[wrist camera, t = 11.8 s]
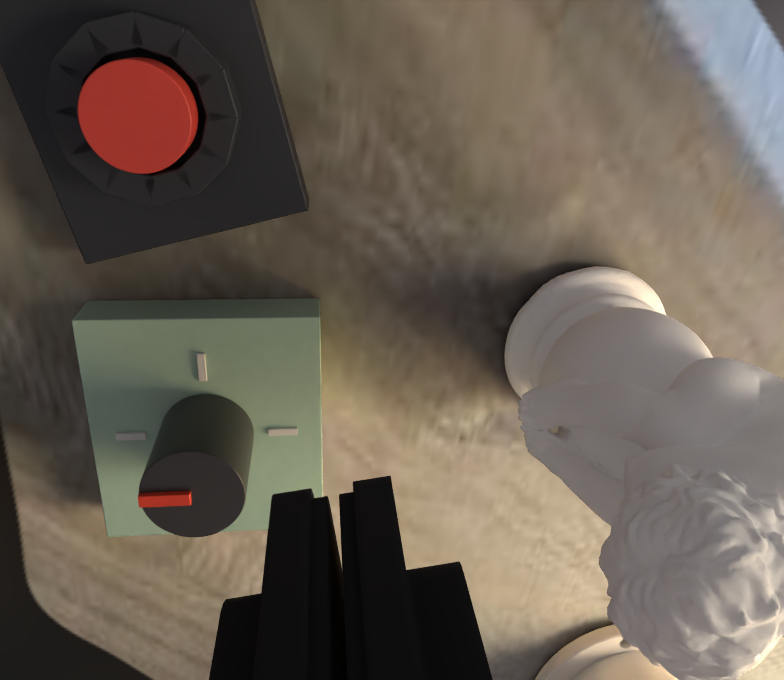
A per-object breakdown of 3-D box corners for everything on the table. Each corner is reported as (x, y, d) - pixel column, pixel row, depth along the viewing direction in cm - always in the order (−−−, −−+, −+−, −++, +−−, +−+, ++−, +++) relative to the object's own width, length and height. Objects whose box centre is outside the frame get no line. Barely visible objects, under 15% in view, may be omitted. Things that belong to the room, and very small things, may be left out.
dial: (251, 392, 34) (241, 453, 29) (256, 469, 35) (248, 539, 31) (156, 394, 33) (130, 457, 28) (166, 473, 35) (143, 545, 30)
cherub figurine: (453, 372, 37) (620, 774, 17) (574, 154, 33) (974, 348, 13) (638, 446, 40) (960, 856, 21) (769, 255, 36) (1328, 533, 16)
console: (322, 498, 40) (323, 529, 37) (119, 507, 38) (106, 539, 36) (319, 297, 35) (320, 318, 32) (86, 300, 34) (69, 321, 31)
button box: (309, 199, 33) (309, 221, 29) (99, 250, 33) (72, 278, 29) (236, -68, 28) (226, -81, 25) (-8, -9, 28) (-55, -14, 25)
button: (212, 152, 28) (206, 159, 26) (114, 176, 28) (102, 185, 26) (178, 45, 26) (169, 46, 25) (73, 70, 26) (58, 73, 25)
